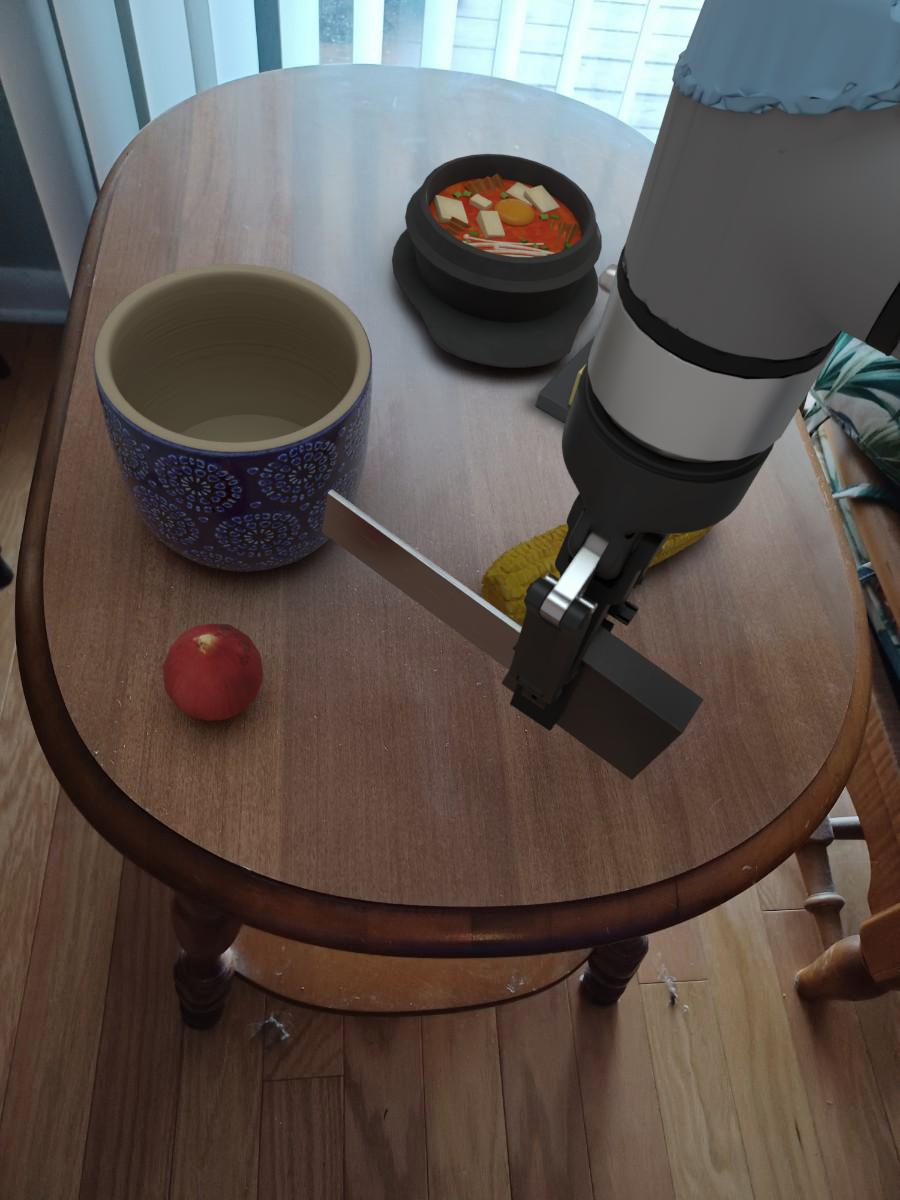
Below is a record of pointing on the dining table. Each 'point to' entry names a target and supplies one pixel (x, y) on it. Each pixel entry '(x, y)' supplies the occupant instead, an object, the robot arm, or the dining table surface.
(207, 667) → the onion
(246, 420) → the planter
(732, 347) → the robot arm
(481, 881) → the dining table surface
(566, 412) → the board
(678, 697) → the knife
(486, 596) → the food
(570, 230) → the casserole
